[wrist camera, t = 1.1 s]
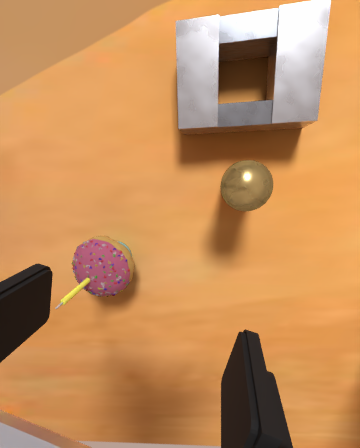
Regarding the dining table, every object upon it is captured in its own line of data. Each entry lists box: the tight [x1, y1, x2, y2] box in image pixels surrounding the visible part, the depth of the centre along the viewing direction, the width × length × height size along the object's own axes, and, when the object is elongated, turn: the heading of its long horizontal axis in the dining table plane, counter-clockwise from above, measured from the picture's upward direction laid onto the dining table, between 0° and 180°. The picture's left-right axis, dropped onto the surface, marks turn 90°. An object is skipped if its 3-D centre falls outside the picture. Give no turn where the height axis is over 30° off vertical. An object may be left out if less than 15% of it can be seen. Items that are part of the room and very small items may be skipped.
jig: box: [176, 0, 331, 135], centre depth 24 cm, size 14×10×4 cm
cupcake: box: [56, 236, 135, 309], centre depth 29 cm, size 9×8×12 cm
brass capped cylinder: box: [221, 160, 273, 211], centre depth 24 cm, size 5×5×9 cm
